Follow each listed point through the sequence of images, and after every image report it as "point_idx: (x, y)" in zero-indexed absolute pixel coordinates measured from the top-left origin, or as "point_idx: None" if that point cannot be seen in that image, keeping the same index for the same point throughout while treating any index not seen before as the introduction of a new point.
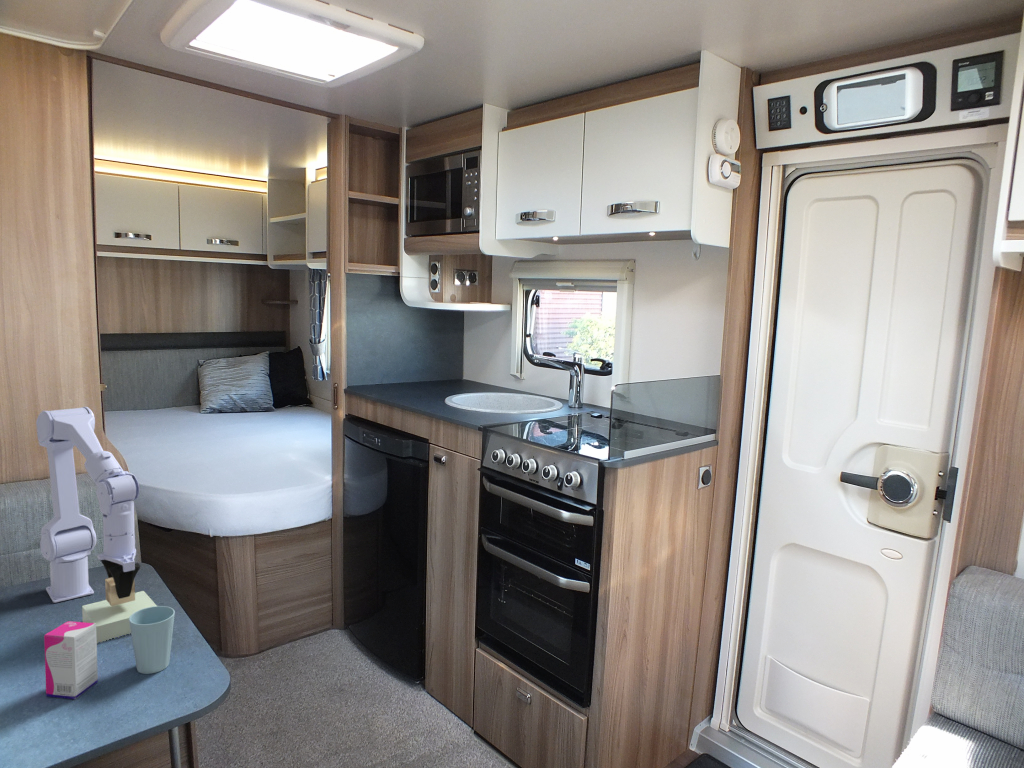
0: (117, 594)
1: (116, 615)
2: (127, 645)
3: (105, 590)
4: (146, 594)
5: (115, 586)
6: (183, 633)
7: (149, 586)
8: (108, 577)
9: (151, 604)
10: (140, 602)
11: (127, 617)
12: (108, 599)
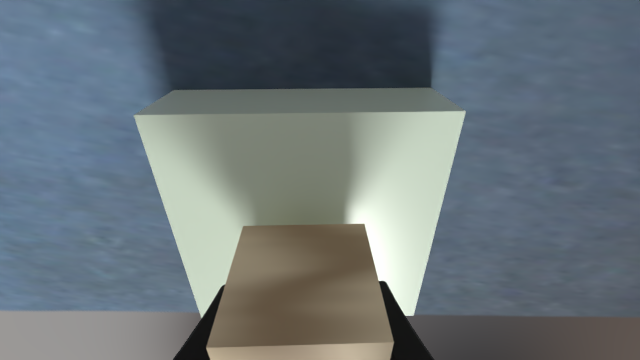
0: (217, 303)
1: (231, 211)
2: (107, 174)
3: (372, 261)
4: None
5: (202, 356)
6: (132, 299)
7: (521, 301)
8: (415, 353)
9: None
10: None
11: (182, 238)
12: (300, 238)
